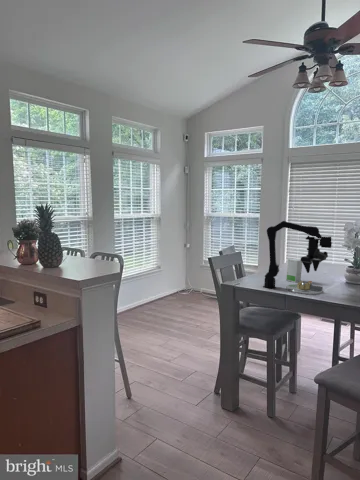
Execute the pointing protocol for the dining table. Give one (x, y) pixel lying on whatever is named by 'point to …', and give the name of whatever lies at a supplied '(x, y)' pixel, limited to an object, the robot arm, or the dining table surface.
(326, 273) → the dining table surface
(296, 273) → the skincare box
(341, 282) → the dining table surface
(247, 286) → the dining table surface
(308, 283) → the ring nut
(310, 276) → the dining table surface
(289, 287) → the clear glass plate
